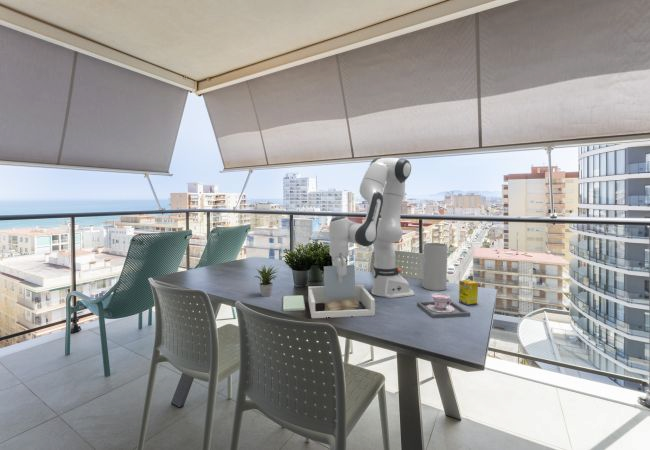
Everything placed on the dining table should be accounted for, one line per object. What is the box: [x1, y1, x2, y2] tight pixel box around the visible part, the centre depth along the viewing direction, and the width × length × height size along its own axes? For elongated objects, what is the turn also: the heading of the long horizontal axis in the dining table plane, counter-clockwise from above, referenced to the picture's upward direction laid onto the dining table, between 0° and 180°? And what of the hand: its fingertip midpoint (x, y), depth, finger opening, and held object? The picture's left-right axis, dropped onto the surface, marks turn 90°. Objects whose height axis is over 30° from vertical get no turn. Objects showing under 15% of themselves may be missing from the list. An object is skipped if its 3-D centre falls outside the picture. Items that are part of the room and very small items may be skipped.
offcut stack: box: [323, 299, 360, 311], centre depth 148 cm, size 15×7×4 cm, turn 111°
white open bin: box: [307, 284, 376, 319], centre depth 153 cm, size 28×22×8 cm
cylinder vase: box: [422, 242, 448, 292], centre depth 186 cm, size 12×12×25 cm
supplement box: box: [458, 279, 479, 307], centre depth 160 cm, size 6×6×11 cm
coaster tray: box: [416, 300, 471, 319], centre depth 150 cm, size 17×17×2 cm
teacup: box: [426, 293, 456, 313], centre depth 153 cm, size 12×12×6 cm
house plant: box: [254, 264, 280, 297], centre depth 173 cm, size 14×14×16 cm
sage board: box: [282, 294, 306, 312], centre depth 160 cm, size 10×20×1 cm, turn 7°
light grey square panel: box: [323, 264, 356, 298], centre depth 154 cm, size 14×3×14 cm, turn 96°
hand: (339, 280), depth 154 cm, fingers closed on light grey square panel, 3 cm apart
